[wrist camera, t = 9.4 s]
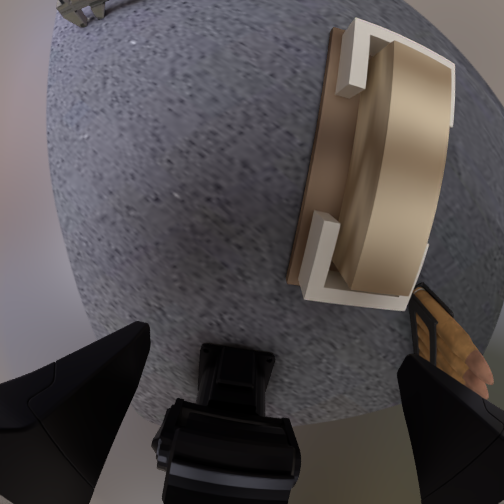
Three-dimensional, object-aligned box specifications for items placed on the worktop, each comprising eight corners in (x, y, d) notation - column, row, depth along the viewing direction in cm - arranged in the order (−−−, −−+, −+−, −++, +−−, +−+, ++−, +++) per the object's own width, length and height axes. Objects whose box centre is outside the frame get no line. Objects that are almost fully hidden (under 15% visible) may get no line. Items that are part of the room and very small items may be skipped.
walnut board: (388, 292, 21) (393, 298, 20) (285, 277, 20) (287, 283, 19) (433, 73, 14) (439, 70, 13) (330, 32, 14) (333, 27, 13)
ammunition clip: (406, 289, 21) (484, 383, 9) (423, 281, 20) (506, 366, 9) (414, 367, 24) (459, 449, 12) (428, 359, 23) (476, 438, 12)
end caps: (388, 291, 19) (404, 311, 17) (298, 278, 19) (303, 299, 16) (432, 72, 13) (454, 64, 11) (342, 34, 13) (355, 17, 10)
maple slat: (378, 264, 19) (408, 296, 14) (329, 256, 19) (350, 289, 14) (412, 83, 14) (451, 69, 9) (363, 64, 14) (394, 40, 9)
